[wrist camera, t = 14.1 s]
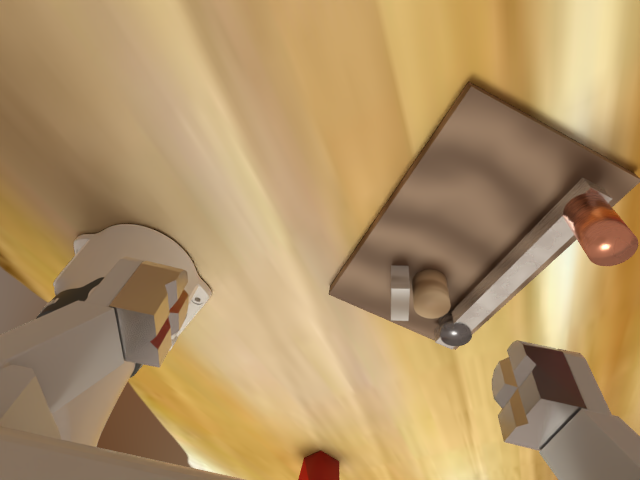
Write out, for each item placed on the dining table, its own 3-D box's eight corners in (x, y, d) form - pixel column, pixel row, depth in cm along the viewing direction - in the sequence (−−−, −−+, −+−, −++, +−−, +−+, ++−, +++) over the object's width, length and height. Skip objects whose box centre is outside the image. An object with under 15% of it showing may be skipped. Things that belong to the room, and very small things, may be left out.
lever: (453, 336, 54) (462, 393, 47) (429, 326, 53) (435, 382, 47) (607, 189, 40) (651, 240, 33) (576, 173, 39) (614, 221, 32)
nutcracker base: (454, 340, 57) (459, 374, 53) (330, 286, 55) (324, 317, 50) (633, 173, 41) (663, 202, 36) (468, 81, 38) (479, 100, 33)
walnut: (433, 299, 51) (436, 323, 48) (405, 286, 51) (406, 309, 48) (453, 278, 49) (458, 302, 46) (424, 264, 49) (426, 287, 45)
